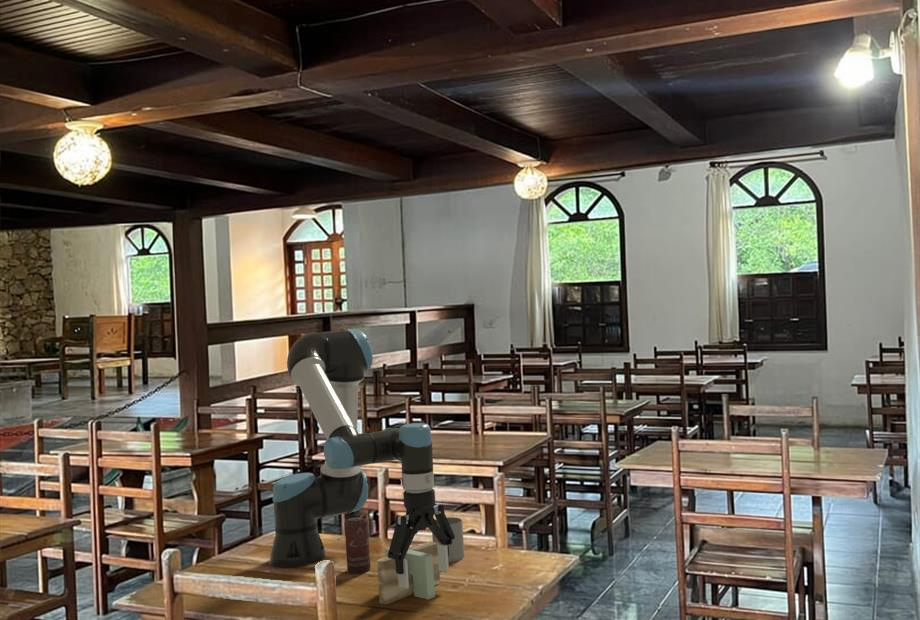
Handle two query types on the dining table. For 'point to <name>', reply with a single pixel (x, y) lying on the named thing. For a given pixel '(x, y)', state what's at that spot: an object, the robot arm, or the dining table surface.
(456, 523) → the cup
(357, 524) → the can
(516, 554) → the dining table surface
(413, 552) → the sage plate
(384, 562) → the birch plate
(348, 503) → the robot arm
